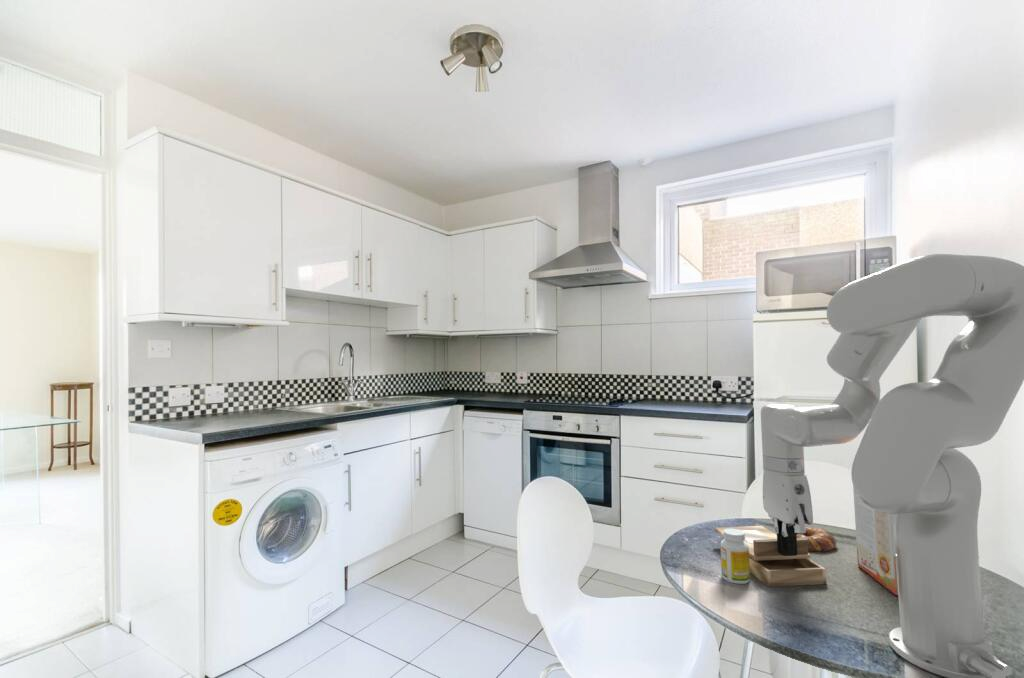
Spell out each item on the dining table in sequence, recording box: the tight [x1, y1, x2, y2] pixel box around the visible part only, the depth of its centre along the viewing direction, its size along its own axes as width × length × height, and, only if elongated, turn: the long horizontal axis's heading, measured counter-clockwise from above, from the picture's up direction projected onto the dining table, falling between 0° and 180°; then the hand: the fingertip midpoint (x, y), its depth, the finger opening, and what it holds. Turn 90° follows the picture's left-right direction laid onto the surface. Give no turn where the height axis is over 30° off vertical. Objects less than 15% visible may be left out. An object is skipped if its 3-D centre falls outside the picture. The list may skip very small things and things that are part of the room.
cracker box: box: [852, 485, 898, 596], centre depth 96 cm, size 14×6×21 cm, turn 168°
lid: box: [713, 525, 811, 561], centre depth 108 cm, size 18×12×4 cm, turn 3°
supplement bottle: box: [719, 529, 751, 585], centre depth 98 cm, size 5×5×10 cm
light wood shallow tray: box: [749, 557, 827, 588], centre depth 104 cm, size 18×12×3 cm, turn 3°
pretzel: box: [797, 525, 837, 552], centre depth 116 cm, size 12×11×4 cm
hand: (787, 554), depth 97 cm, fingers closed
